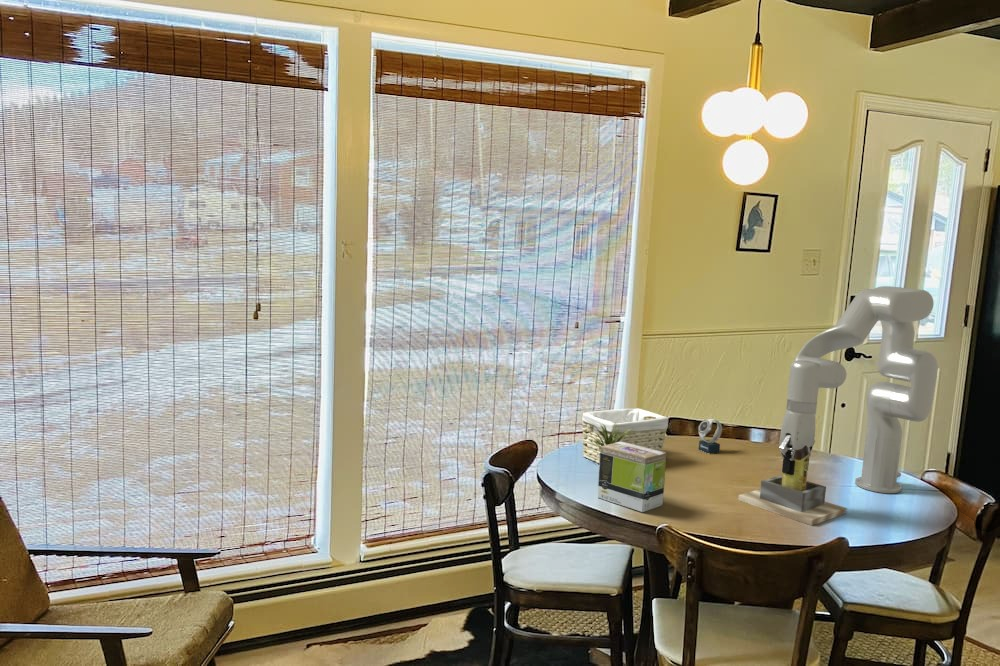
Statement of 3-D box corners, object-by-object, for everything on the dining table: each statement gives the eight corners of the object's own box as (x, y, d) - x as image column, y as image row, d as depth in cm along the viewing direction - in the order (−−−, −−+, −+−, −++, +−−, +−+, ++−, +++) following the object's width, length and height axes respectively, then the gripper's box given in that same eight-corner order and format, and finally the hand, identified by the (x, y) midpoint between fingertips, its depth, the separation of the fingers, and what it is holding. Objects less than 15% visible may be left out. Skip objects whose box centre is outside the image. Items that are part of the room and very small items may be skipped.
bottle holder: (773, 490, 233) (775, 468, 232) (845, 513, 216) (848, 490, 215) (738, 500, 222) (740, 477, 221) (811, 525, 205) (814, 501, 204)
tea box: (663, 505, 215) (668, 451, 213) (642, 513, 208) (646, 458, 206) (618, 490, 225) (621, 439, 223) (595, 498, 218) (599, 445, 216)
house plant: (574, 477, 235) (578, 423, 233) (587, 465, 248) (591, 413, 246) (623, 485, 230) (627, 430, 228) (633, 472, 243) (637, 420, 240)
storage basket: (633, 449, 270) (636, 406, 268) (667, 462, 256) (671, 417, 254) (577, 457, 257) (579, 411, 255) (609, 471, 244) (612, 423, 242)
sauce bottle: (806, 500, 214) (814, 427, 212) (782, 497, 216) (789, 425, 213) (802, 492, 221) (809, 421, 218) (778, 489, 222) (785, 419, 219)
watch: (693, 449, 272) (696, 418, 271) (713, 448, 275) (716, 417, 274) (703, 454, 267) (706, 422, 266) (723, 452, 270) (726, 421, 269)
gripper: (806, 401, 223) (799, 463, 226) (770, 407, 213) (764, 473, 215) (831, 406, 218) (824, 470, 220) (796, 413, 207) (789, 480, 209)
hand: (794, 471), depth 218 cm, fingers closed on sauce bottle, 6 cm apart
